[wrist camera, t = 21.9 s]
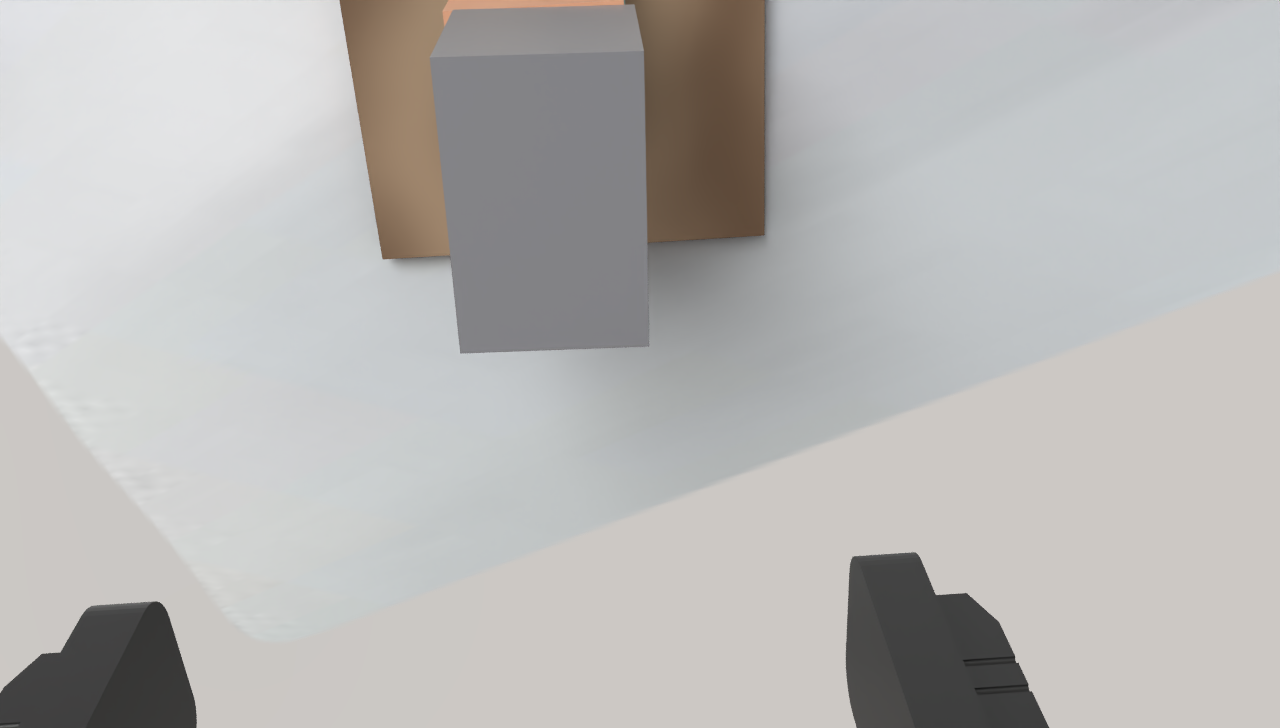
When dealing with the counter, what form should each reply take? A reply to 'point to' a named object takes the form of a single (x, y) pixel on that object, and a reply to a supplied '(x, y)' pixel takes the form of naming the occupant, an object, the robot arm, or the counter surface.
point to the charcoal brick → (544, 176)
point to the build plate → (674, 118)
